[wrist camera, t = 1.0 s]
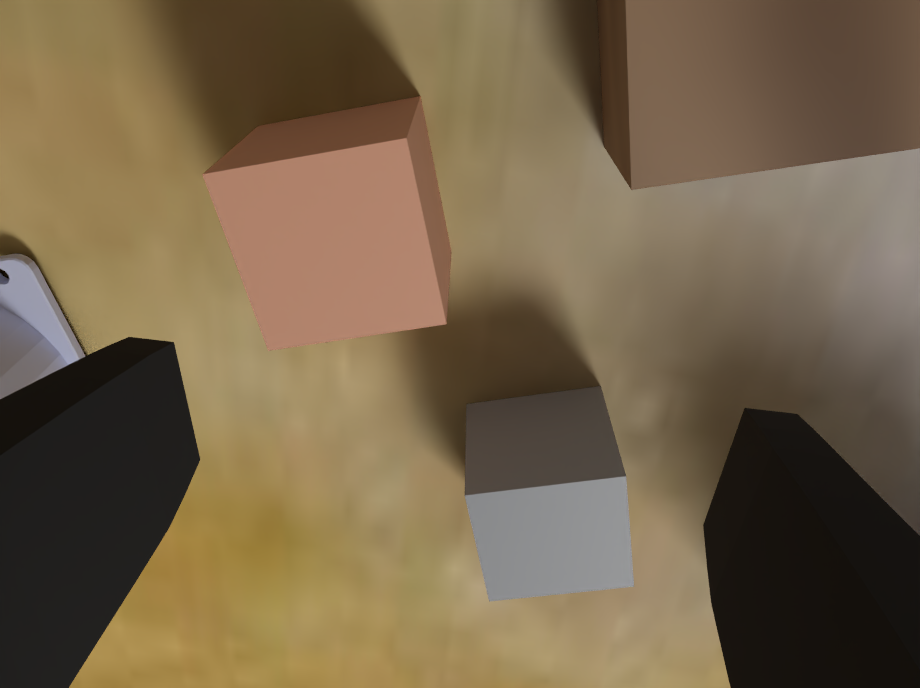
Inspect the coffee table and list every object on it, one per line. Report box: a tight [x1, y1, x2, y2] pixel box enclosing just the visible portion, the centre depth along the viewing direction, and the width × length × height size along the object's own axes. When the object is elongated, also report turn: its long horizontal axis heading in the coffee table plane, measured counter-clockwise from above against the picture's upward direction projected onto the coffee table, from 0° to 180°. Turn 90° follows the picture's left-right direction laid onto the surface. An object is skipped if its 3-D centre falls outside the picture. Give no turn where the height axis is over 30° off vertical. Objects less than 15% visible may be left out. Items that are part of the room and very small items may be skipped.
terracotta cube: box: [203, 96, 451, 351], centre depth 18 cm, size 4×4×4 cm
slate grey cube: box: [465, 386, 634, 601], centre depth 22 cm, size 4×4×4 cm
